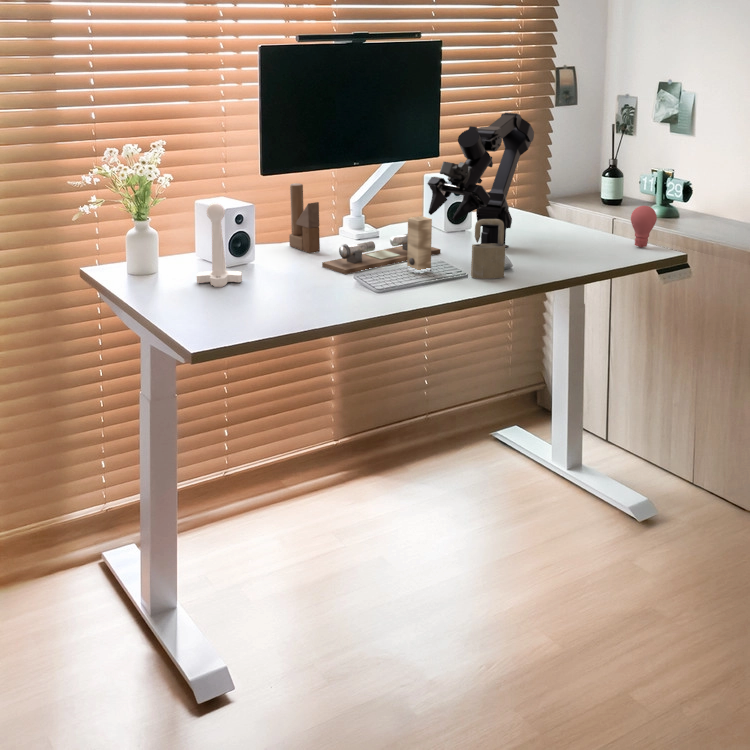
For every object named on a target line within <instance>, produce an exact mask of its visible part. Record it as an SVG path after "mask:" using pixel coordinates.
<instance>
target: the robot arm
mask: <svg viewBox="0 0 750 750" xmlns="http://www.w3.org/2000/svg"><path fill="white" fill-rule="evenodd" d="M534 138H535V131H534V129H533V126H532V125H531V123H530V122H529V121H526V120H525V119H524V118H522V116H521V114H519V113H517V112H504V113H501V116H500V117H498V118H497V119H496V120H495V121H493V122H492V123H491V124H490V125H488V126H481V127H477V126H470V125H469V126H468V129H466V130H464V131H462V133H460V135H458V137H457V142H458V145H459V147H460V151H462V155H463V156H464V158H465V159H466V160H465V162H463V161H462V162H461V161H460V162H459V163H454V162H448V161H443V162H442V164H441V168H440V171H439V174H440V175H443V176H446V177H447V181H448V182H449V183H450V184H449V183H448V182H447V181H446V180H445V178H444V177H440V176H439V177H438V176H431V177H430V178H429V180H428V181H427V186H428V187H429V188H430V190H431V194H432V195H431V201H430V204H429V209H428V214H429V215H430V216H431V215H433V214H434V213H436V212H437V211H438V210H439V209H440V208H441V207H442V206H443V205H444V204H445V203H446V202H447V201H448V199H447V198H448V197H450V196H451V195H452V194H454V195H455V194H456V195H460V196H462V201H461V203H460V204H459V206H458V207H457V209H456V211H455V213H454V215H453V216H452V220H453V221H457V220H459V219H461V218H462V217H464V216H466V215H468V214H470V213H472V212H473V211H476V213H475V214H476V220H477V221H476V222H478V221H479V220H481V219H500V220H501V221H502V222H503V223H504V240H503V244H504V245H505V246H506V247H505V249H508V248H510V246H509V245H506V239H507V238H506V236H507V235H506V234H507V232H506V231H507V229H511V227H512V223H513V222H512V221H513V219H512V215H511V213H510V210H509V207H510V206H509V204H508V201H507V196H508V194H509V190H510V187H511V184H512V182H513V178H514V176H515V172H516V169H517V165H518V163H519V161H520V157H521V156H522V155H523V154H525V153H526V152H527V151H528V150H529V148H530V146H531V144H532V143H533V141H534ZM502 143H503V146H504V150H503V153H502V156H501V160H500V163H499V165H498V169H497V171H496V174H495V177H494V179H493V183H492V185H491V189H490V190H489V191H487V190H486V189H485V188H484V186H483V185H481V183H482V182H483V179H482V176H483V175H484V173H485V171H486V170H487V169H488V168H493V164H494V163H493V156H491V155H490V153H489V152H494V153H495V152H497V151H498V150H499V148H500V147H501V146H502ZM481 227H482V229H481V232H480V244H490V243H495V244H498V225H481Z"/></svg>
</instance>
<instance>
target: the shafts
mask: <svg viewBox="0 0 750 750" xmlns="http://www.w3.org/2000/svg"><path fill="white" fill-rule="evenodd" d="M389 242H390V245H391V246H392V247H399V246H403V250H407V251H408V233H405V234H401V235H397V236H395V235H394V236H392V237H390V239H389ZM375 250H376V244H375V242H374V241H372V240H371V241H367V242H360V243H356V244H351V245H348V244H347V243H343V244H340V246H339V249H338V253H339V255H340V257H341V258H343V259H347V261H348V262H351V263H354V264H356V263H361V262H362V254H365V253H370V252H375Z"/></svg>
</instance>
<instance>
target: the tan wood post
mask: <svg viewBox="0 0 750 750" xmlns="http://www.w3.org/2000/svg"><path fill="white" fill-rule="evenodd" d="M432 224H433V218H430V217H426V216H422V215H419V216H413V217H407V234H408V255H407V261H406V262H407V266H410V267H412V268H415V269H417V270H421V269H426V268H431V269H432V255H431V247H432V239H433V238H432V235H433V234H432V231H433V229H432V227H433V225H432Z"/></svg>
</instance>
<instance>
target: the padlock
mask: <svg viewBox="0 0 750 750" xmlns="http://www.w3.org/2000/svg"><path fill="white" fill-rule="evenodd" d="M481 225H498V244H495V243H490V244H481V243H479V242H480V240H481V233H482V229H481V227H482V226H481ZM474 238H475V241H476V243H475V244H474V243H473V244H471V265H470V266H471V267H470V268H471V269H470V275H471V278H472V279H480V280H481V279H482V280H483V279H484V280H485V279H486V280H487V279H490V280H491V279H502V278H505V264H506V263H505V262H506V248H505V247H506V246H505V245H506V244H505V245H504V244H503V240H504V223H503V222H502V221H501V220H500V219H481V220H479V221H478V222H477V221H476V222H475V226H474Z"/></svg>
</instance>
